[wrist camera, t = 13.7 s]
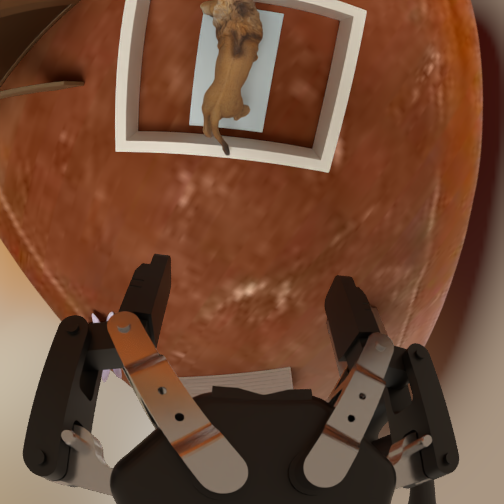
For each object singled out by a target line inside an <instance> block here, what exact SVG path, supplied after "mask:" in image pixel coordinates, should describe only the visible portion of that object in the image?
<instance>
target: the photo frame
mask: <svg viewBox="0 0 504 504" xmlns="http://www.w3.org/2000/svg"><path fill="white" fill-rule="evenodd" d="M79 1H80V0H0V87H1V85H2V84H3V83H4V81H5V80H6V78H7V77H8V76H9V74H10V73H11V72H12V71H13V69H14V68H15V67H16V65H17V64H18V63H19V62H20V61H21V59H22V58H23V57H24V56H25V55H26V53H27V52H28V51H29V50H30V49H31V48H32V47H33V45H34V44H35V43H36V42H37V41H38V40H39V39H40V38H41V37H42V36H43V35H44V34H45V33H46V32H47V31H48V30H49V29H50V28H51V27H52V26H53V25H54V24H55V23H56V22H57V21H58V20H59V19H60V18H61V17H62V16H63V15H64V14H65V13H66V12H68V11H69V10H70V9H71V8H72V7H73V6H74V5H76V4H77V3H78V2H79ZM83 85H84V82H75V81H61V82H52V83H45V84H38V85H31V86H25V87H20V88H14V89H10V90H5V91H0V99H1V98H6V97H11V96H17V95H23V94H29V93H36V92H44V91H53V90H59V89H65V88H70V87H76V86H83Z"/></svg>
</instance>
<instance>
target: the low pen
mask: <svg viewBox="0 0 504 504" xmlns="http://www.w3.org/2000/svg"><path fill="white" fill-rule="evenodd" d="M253 1H254V2H260V3H266V4H273V5H278V6H284V7H289V8H293V9H298V10H302V11H307V12H311V13H315V14H319V15H322V16H326V17H329V18H333V19H336V20H339V21H340V24H339V29H338V34H337V39H336V44H335V49H334V54H333V59H332V64H331V68H330V73H329V78H328V82H327V87H326V91H325V96H324V100H323V105H322V109H321V113H320V118H319V122H318V126H317V130H316V135H315V139H314V143H313V147H312V149H311V148H306V147H300V146H295V145H289V144H283V143H276V142H270V141H263V140H255V139H248V138H239V137H230V136H222V138H223V139H224V140H225V142H226V143H227V144H228V146H229V151H230V155H228V156H227V155H225V153H224V151H223V150H222V146H221V144H220V143H219V142H218V140H217V139H216V138H215V137H214V136H213V137H211V138H209V137H206V136H205V134H197V133H181V132H158V131H138V115H139V93H140V78H141V66H142V56H143V47H144V39H145V31H146V24H147V18H148V11H149V6H150V0H126V2H125V7H124V13H123V20H122V27H121V34H120V43H119V52H118V64H117V78H116V102H115V142H116V152H153V153H174V154H189V155H202V156H214V157H224V158H233V159H242V160H251V161H259V162H266V163H273V164H280V165H287V166H293V167H299V168H305V169H311V170H317V171H322V172H328V173H329V170H330V167H331V163H332V160H333V156H334V152H335V149H336V145H337V141H338V138H339V134H340V130H341V126H342V122H343V118H344V114H345V110H346V106H347V102H348V98H349V94H350V89H351V85H352V81H353V76H354V72H355V67H356V63H357V58H358V54H359V49H360V44H361V39H362V34H363V29H364V23H365V18H366V12H367V11H366V10H363V9H361V8H358V7H355V6H352V5H349V4H346V3H343V2H340V1H337V0H253ZM257 11H258V12H259V14H260V15H259V16H260V21H261V22H262V29H263V38H262V40H261V41H260V43H259V46H258V52H257V56H258V59H257V60H256V61H255V62H253V64H252V67H251V69H250V71H249V74H248V77H247V79H246V81H245V83H244V85H243V86H242V88H241V96H242V99H243V104H244V105H248V106H249V108H250V112H249V114H248V115H246V116H245V117H242V118H240V119H239V120H237V121H235V120H234V119H233V117H232V118H222V119H221V120H219V124H218V127H220V128H230V129H239V130H247V131H255V132H263V126H264V120H265V114H266V109H267V103H268V98H269V92H270V87H271V81H272V75H273V70H274V64H275V59H276V54H277V48H278V43H279V37H280V32H281V27H282V21H283V16H284V14H281V13H276V12H270V11H263V10H257ZM217 45H218V40H217V38H216V28H215V27H214V26H213V17H211V16H209V15H206V14H204V13H203V19H202V25H201V31H200V37H199V44H198V51H197V58H196V66H195V74H194V82H193V91H192V101H191V111H190V122H189V125H195V126H203V125H204V117H203V113H202V104H203V99H204V95H205V92H206V91H207V90H208V88H209V87H210V86H211V84H212V83H213V81H214V79H215V65H216V59H217V56H218V54H219V49H218V47H217Z"/></svg>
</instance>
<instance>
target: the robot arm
mask: <svg viewBox="0 0 504 504" xmlns="http://www.w3.org/2000/svg"><path fill="white" fill-rule="evenodd" d="M170 288H171V257H170V256H168V255H160V254H154V256H153V258H152V261H151V264H144V263H143V264H141V265H140V266H139V267H138V268H137V269H136V270H135V272H134V275H133V277H132V280H131V282H130V284H129V287H128V289H127V292H126V294H125V297H124V299H123V302H122V304H121V307H120V310H119V312H118V313H115V314H114V315H112V316H111V317H110V319H109V320H108V321H105V322H100V323H89V324H88V323H87V321H86V320H85V319H84V318H83V317H81V316H77V315H74V316H69V317H67V318H65V319H64V320H63V321H62V322H61V323H60V325H59V327H58V330H57V332H56V335H55V337H54V340H53V342H52V345H51V348H50V351H49V353H48V356H47V359H46V362H45V365H44V368H43V371H42V374H41V378H40V381H39V384H38V388H37V391H36V395H35V398H34V402H33V406H32V410H31V414H30V418H29V422H28V427H27V432H26V437H25V442H24V448H23V458H24V462H25V464H26V465H27V467H28V468H29V469H30V471H32V472H33V473H34V474H36V475H38V476H41V477H44V478H45V479H47V480H49V481H52V482H55V483H58V484H61V485H67V486H70V487H82V488H85V489H88V490H92V491H96V492H100V493H103V494H107V495H112V496H113V498H114V499H115V501H116V503H117V504H390V503H391V499H392V496H393V493H394V490H395V489H397V488H400V487H403V488H410V497H409V502H408V504H436V500H435V487H434V479H437V478H439V477H442V476H444V475H446V474H449V473H451V472H453V471H454V470H455V469H456V467H457V465H458V463H459V454H458V449H457V445H456V440H455V436H454V432H453V428H452V424H451V420H450V417H449V413H448V410H447V406H446V402H445V399H444V396H443V393H442V389H441V386H440V383H439V380H438V377H437V374H436V371H435V368H434V366H433V363H432V360H431V357H430V355H429V353H428V351H427V350H426V348H425V347H423V346H422V345H420V344H416V343H415V344H411V345H410V346H409V347H408V349H404V348H400V347H397V346H394V345H393V342H392V341H391V339H390V338H389V337H388V335H387V332H386V330H385V327H384V325H383V322H382V320H381V317H380V315H379V313H378V310H377V308H373V307H371V306H370V304H369V302H368V300H367V297H366V295H365V294H364V293H363V291H362V290H361V289H360V288H359V287H356V286H355V283H354V281H353V278H352V277H349V276H339V275H337V276H336V277H335V279H334V281H333V283H332V285H331V287H330V289H329V292H328V294H327V296H326V299H325V311H326V315H327V318H328V320H327V327H328V332H329V335H330V339H331V343H332V347H333V351H334V355H335V359H336V363H337V367H338V371H339V376H340V378H339V380H338V382H337V384H336V385H335V387H334V389H333V391H332V392H331V394H330V395H329V397H328V398H327V400H326V401H324V400H322V399H320V398H317V397H315V396H312V391H311V389H288V390H284V391H280V392H275V393H271V394H266V395H262V394H258V393H255V392H251V391H247V390H244V389H240V388H235V387H222V386H212V392H208V393H203V394H200V395H197V396H195V397H193V398H192V397H191V395H190V394H189V393H188V391H187V390H186V388H185V387H184V385H183V384H182V382H181V381H180V379H179V378H178V376H177V375H176V373H175V372H174V370H173V369H172V367H171V366H170V364H169V363H168V361H167V360H166V358H165V357H164V356H163V355H160V354H159V353H158V351H157V350H156V348H157V343H158V339H159V334H160V330H161V326H162V322H163V318H164V313H165V309H166V305H167V301H168V297H169V294H170ZM119 368H122V369H123V371H124V373H125V375H126V377H127V379H128V381H129V383H130V384H131V386H132V388H133V390H134V392H135V393H136V396H137V397H138V399H139V401H140V403H141V405H142V407H143V409H144V410H145V412H146V414H147V416H148V417H149V419H150V421H151V422H152V424H153V426H154V427H155V430H154V431H153V432H152V433H151V434H150V435H149V436H148V437H146V438H145V439H144V440H143V441H142V442H141V443H140V444H138V445H137V446H136V447H135V448H134V449H133V450H131V451H130V452H129V453H128V454H127V455H126V456H124V457H123V458H122V459H121V460H120V461H119V462H118V463H117V464H116V465H115V467H114V468H110V467H109V466H108V465H107V464H106V462H105V460H104V456H103V447H102V445H101V443H100V442H99V440H98V439H97V438H96V437H94V436H93V435H92V434H91V430H92V423H93V418H94V412H95V406H96V401H97V396H98V390H99V386H100V381H101V377H102V372H103V370H108V369H119ZM408 383H410V386H411V390H412V394H413V400H411V396H410V392H409V389H408V385H407V384H408ZM387 422H389V428H390V433H391V434H390V435H387V436H385V437H382V438H380V439H378V434H379V432H380V430H381V429H382V427H383V426H384V425H385V424H386V423H387Z"/></svg>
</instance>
